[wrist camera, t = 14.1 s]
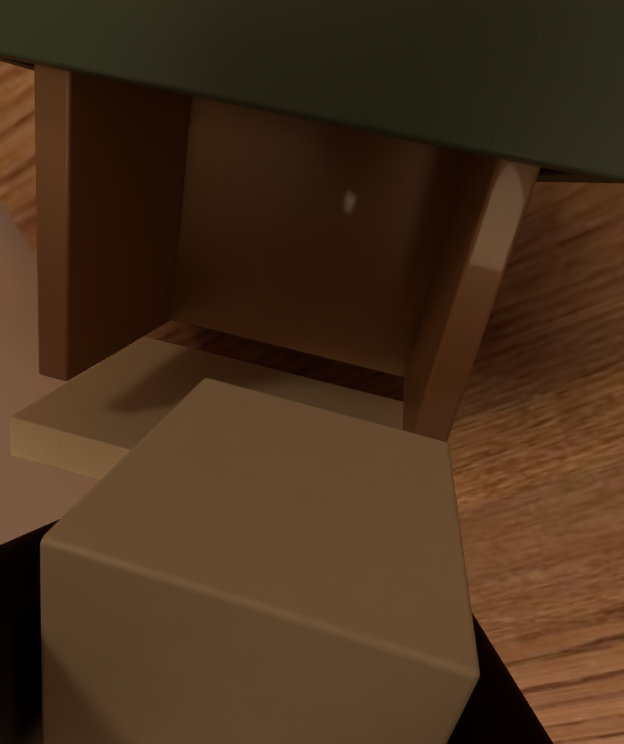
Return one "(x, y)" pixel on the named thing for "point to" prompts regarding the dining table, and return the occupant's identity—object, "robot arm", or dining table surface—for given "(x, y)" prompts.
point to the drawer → (249, 261)
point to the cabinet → (367, 66)
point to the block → (259, 585)
